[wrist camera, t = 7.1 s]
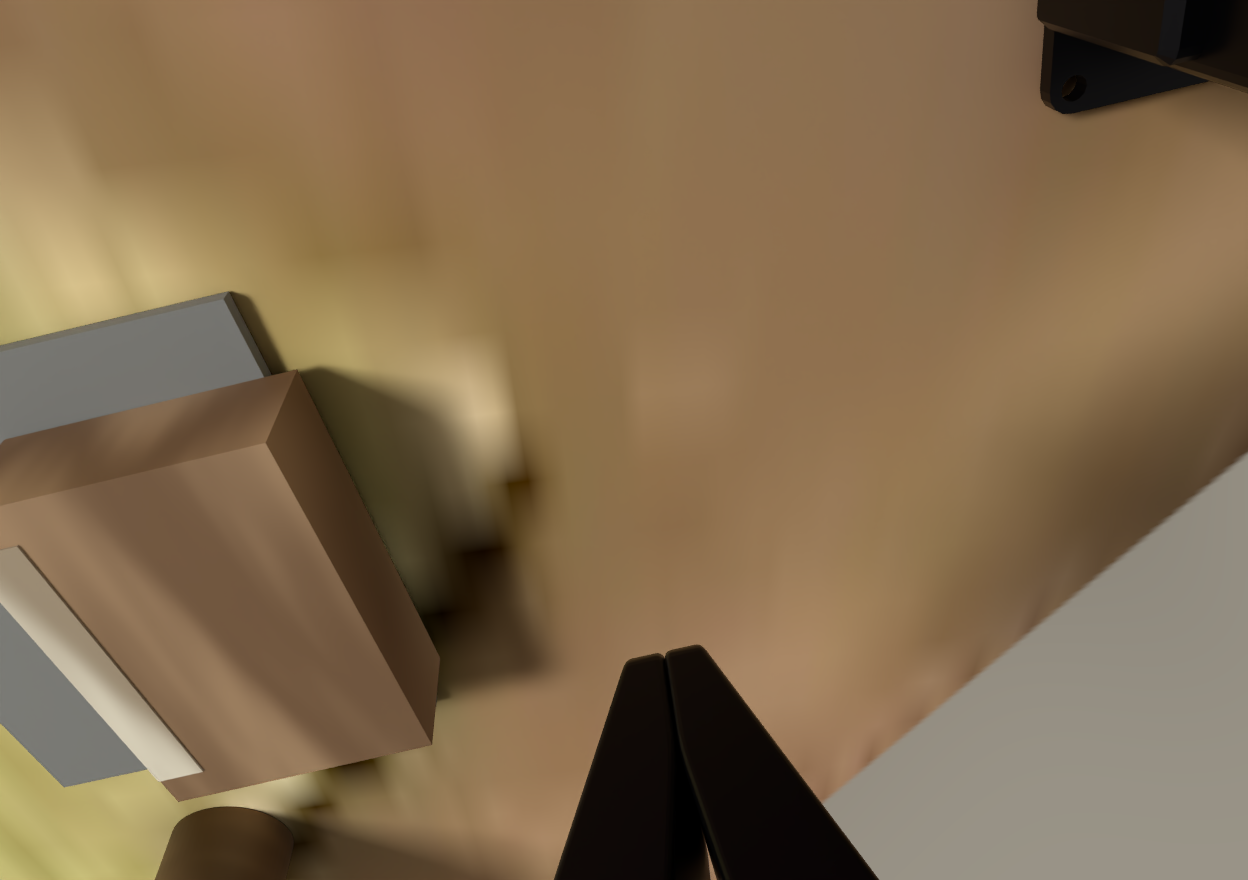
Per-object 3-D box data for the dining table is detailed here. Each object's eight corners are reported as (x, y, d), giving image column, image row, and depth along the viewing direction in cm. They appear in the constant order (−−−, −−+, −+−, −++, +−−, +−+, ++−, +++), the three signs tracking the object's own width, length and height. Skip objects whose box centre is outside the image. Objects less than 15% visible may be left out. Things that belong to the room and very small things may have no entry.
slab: (265, 444, 17) (-70, 523, 17) (431, 746, 23) (177, 803, 23) (297, 368, 20) (5, 438, 20) (440, 657, 25) (211, 709, 25)
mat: (228, 291, 19) (223, 299, 18) (437, 696, 27) (436, 707, 26) (-284, 412, 19) (-299, 422, 19) (69, 776, 27) (63, 787, 27)
